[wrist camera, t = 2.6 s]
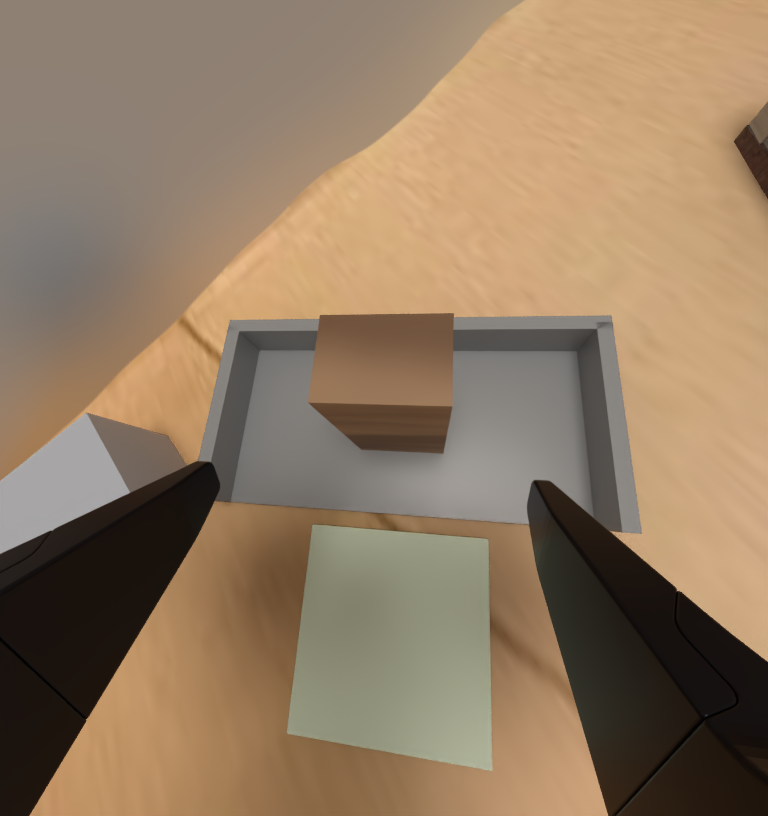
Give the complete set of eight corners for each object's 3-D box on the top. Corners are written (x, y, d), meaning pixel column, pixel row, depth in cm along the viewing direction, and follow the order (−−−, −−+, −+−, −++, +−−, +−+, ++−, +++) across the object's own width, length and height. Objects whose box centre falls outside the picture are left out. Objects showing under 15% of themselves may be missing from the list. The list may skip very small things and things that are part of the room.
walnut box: (443, 453, 20) (452, 406, 11) (361, 449, 21) (307, 402, 12) (444, 396, 21) (453, 311, 12) (366, 394, 22) (320, 312, 13)
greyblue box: (83, 615, 21) (-49, 655, 15) (48, 536, 23) (-81, 544, 17) (212, 503, 22) (134, 501, 16) (169, 436, 23) (86, 412, 18)
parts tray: (608, 530, 18) (641, 533, 15) (221, 501, 21) (189, 499, 19) (587, 341, 21) (611, 315, 18) (253, 342, 25) (230, 320, 22)
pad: (490, 765, 16) (492, 771, 15) (289, 728, 17) (286, 733, 17) (487, 538, 19) (488, 538, 18) (314, 524, 20) (312, 524, 20)
